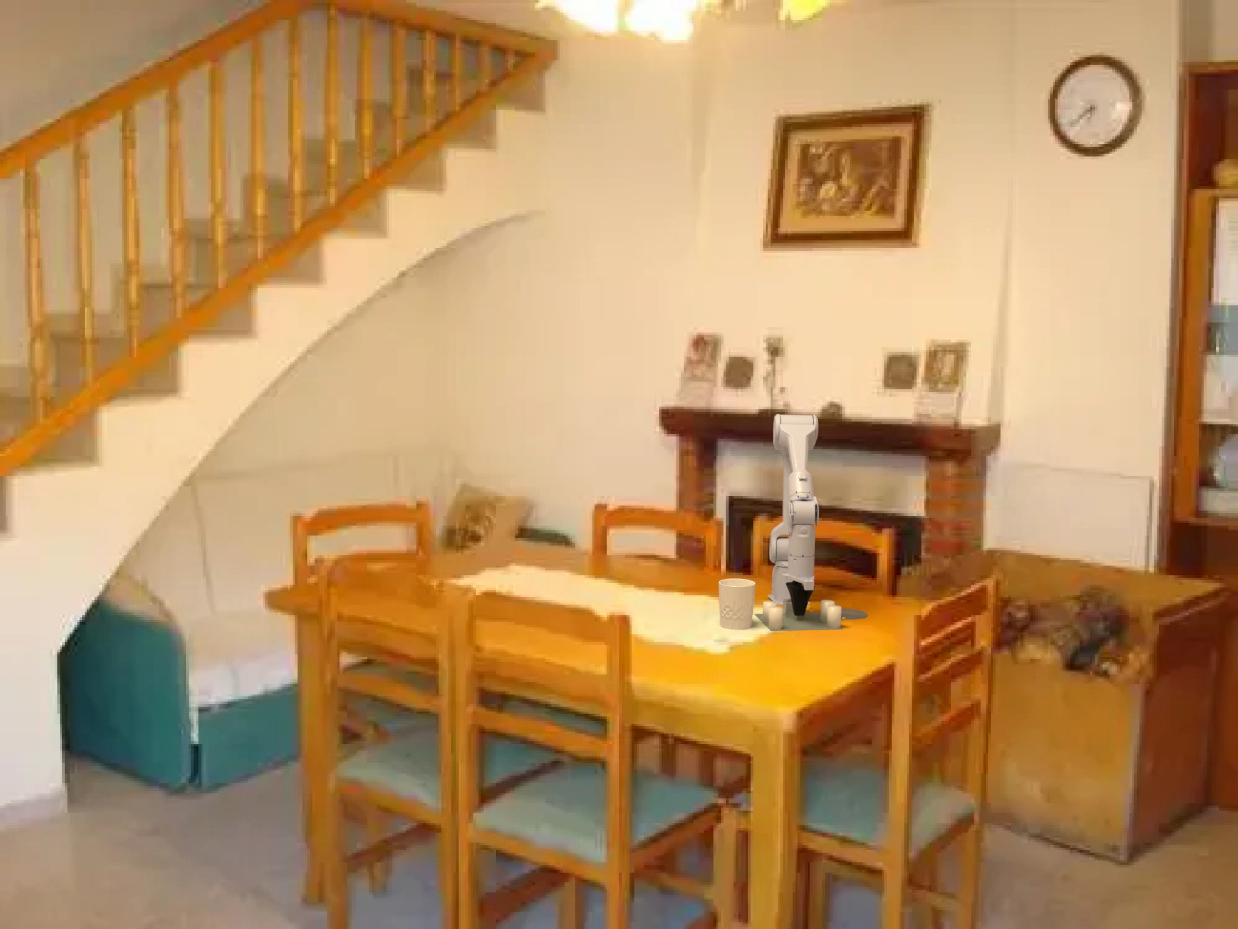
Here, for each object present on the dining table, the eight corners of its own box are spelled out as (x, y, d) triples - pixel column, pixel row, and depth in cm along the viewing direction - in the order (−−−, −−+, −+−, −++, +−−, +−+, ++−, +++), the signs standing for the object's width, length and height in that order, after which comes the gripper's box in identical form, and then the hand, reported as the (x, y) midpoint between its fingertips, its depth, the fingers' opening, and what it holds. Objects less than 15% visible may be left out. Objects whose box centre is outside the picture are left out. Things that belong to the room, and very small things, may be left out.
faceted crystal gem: (781, 613, 317) (781, 598, 317) (800, 613, 318) (800, 597, 317) (787, 619, 312) (787, 603, 312) (806, 618, 313) (807, 603, 312)
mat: (753, 615, 316) (754, 613, 316) (822, 614, 319) (823, 612, 319) (770, 632, 302) (770, 630, 302) (843, 631, 304) (843, 629, 304)
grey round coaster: (821, 611, 321) (822, 609, 321) (860, 610, 323) (860, 608, 322) (833, 621, 312) (833, 618, 312) (872, 620, 314) (872, 617, 314)
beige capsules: (761, 621, 310) (761, 601, 309) (831, 619, 312) (832, 599, 312) (770, 630, 302) (770, 609, 301) (842, 628, 304) (843, 608, 304)
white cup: (724, 633, 301) (726, 587, 299) (712, 624, 308) (713, 579, 307) (759, 631, 303) (760, 585, 301) (746, 622, 310) (747, 577, 309)
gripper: (775, 548, 315) (773, 607, 317) (792, 561, 301) (790, 623, 303) (805, 547, 316) (803, 607, 318) (824, 561, 302) (822, 623, 304)
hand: (799, 615), depth 311 cm, fingers closed
